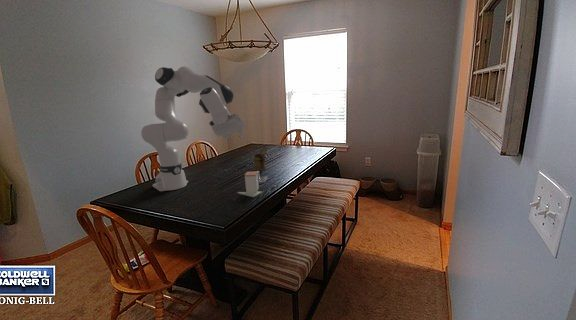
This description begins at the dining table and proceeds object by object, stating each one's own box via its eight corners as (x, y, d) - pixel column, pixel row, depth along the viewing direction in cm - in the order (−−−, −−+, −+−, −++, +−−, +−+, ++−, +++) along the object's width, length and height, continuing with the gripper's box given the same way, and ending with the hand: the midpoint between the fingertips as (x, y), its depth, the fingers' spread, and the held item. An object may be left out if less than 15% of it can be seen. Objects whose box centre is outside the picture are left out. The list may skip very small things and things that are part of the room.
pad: (237, 193, 155) (237, 191, 155) (252, 186, 165) (252, 185, 164) (253, 197, 148) (253, 195, 148) (268, 190, 158) (267, 188, 157)
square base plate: (247, 184, 169) (246, 174, 167) (250, 178, 180) (249, 169, 178) (265, 183, 168) (264, 173, 167) (267, 178, 179) (267, 168, 177)
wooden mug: (261, 174, 188) (259, 147, 183) (251, 170, 198) (248, 145, 193) (272, 171, 193) (270, 145, 189) (261, 167, 203) (259, 143, 199)
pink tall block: (246, 192, 154) (244, 175, 151) (248, 188, 159) (246, 171, 157) (257, 192, 153) (255, 174, 151) (258, 188, 159) (257, 171, 157)
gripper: (239, 110, 143) (253, 132, 149) (213, 118, 155) (226, 139, 161) (233, 116, 139) (247, 139, 145) (206, 124, 151) (220, 145, 157)
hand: (236, 139), depth 153 cm, fingers open, 8 cm apart
